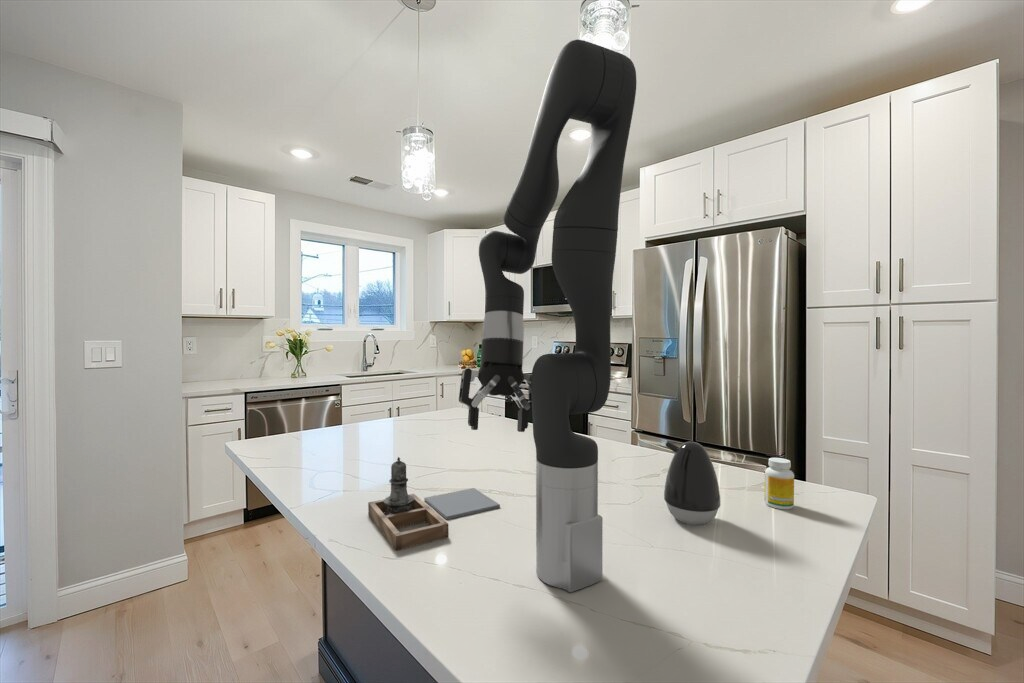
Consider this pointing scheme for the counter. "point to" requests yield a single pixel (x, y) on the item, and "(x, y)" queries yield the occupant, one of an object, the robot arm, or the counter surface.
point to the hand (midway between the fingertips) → (498, 430)
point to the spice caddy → (415, 516)
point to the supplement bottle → (779, 484)
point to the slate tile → (461, 503)
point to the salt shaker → (398, 490)
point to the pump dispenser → (691, 485)
